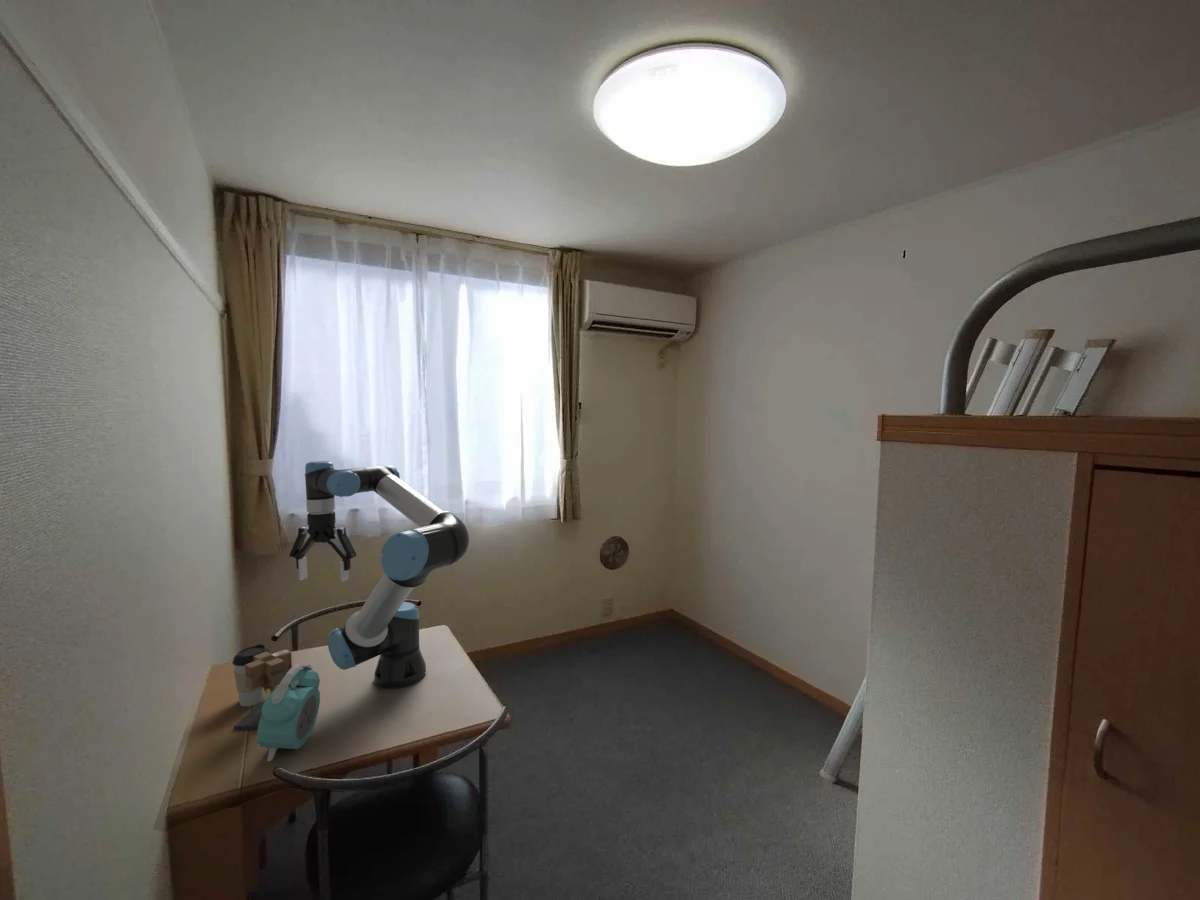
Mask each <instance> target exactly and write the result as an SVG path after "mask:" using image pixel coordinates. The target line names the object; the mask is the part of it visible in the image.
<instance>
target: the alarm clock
mask: <svg viewBox="0 0 1200 900" xmlns="http://www.w3.org/2000/svg"><path fill="white" fill-rule="evenodd" d="M320 682H321V679H320V676H319V673H318V671H315V670H313V667H312V664H307V663H296V664H294V665H293V666H292V668H291V669H290V670H289V671H288V672H287V673H286V675H285V676H284V678H283V679H282V681H281V682H280V684H279V685H278V688H276V689H275V691H274V692H273V693H272V695H270V696H269V697H268V698H267V699H266V701H265V703H264V705H263V707H262V709H261V711H262V715H261V718H260V721H259V726H258V730H257V731H256V734H257V735H256V739H257V743H258V745H259V747H260V748H269V750H268V755H267V758H266V762H270V761H273V759H275V757H276V754H277V752H278V749H289V750H298V749H300V748H301V747H303V746H304V745H305V744H306V742H307V740H308V739H309V737H310V735H311V733H312V731H313V729H314V727H315V723H316V720H317V717H318V715H319V714H318V713H319V708H320V704H321V703H320V702H321V692H320V690H319V687H320Z"/></svg>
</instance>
